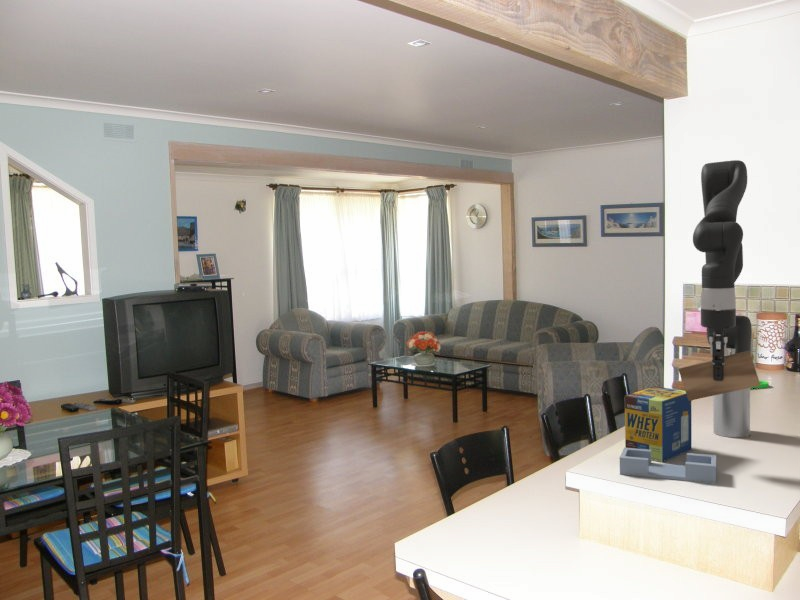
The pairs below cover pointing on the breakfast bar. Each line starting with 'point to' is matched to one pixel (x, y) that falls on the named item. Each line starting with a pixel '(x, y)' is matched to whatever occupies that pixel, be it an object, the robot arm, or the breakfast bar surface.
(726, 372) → the slat
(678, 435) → the protein box
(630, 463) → the grey slotted holder
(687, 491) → the breakfast bar surface
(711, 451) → the breakfast bar surface
